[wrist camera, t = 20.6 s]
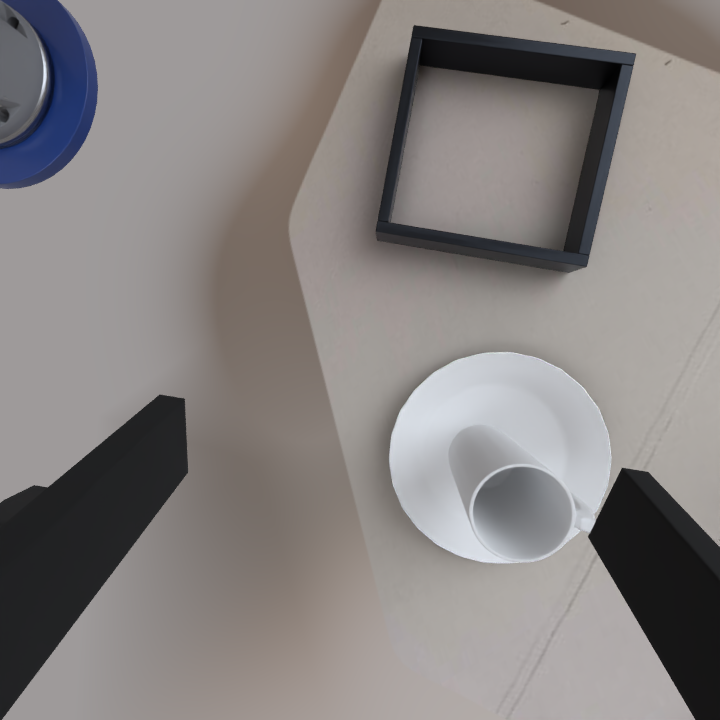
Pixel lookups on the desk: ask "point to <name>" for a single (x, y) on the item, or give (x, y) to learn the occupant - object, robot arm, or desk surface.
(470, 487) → the mug
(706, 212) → the desk surface
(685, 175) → the desk surface
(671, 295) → the desk surface
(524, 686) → the desk surface
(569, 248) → the black square frame
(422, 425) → the plate
